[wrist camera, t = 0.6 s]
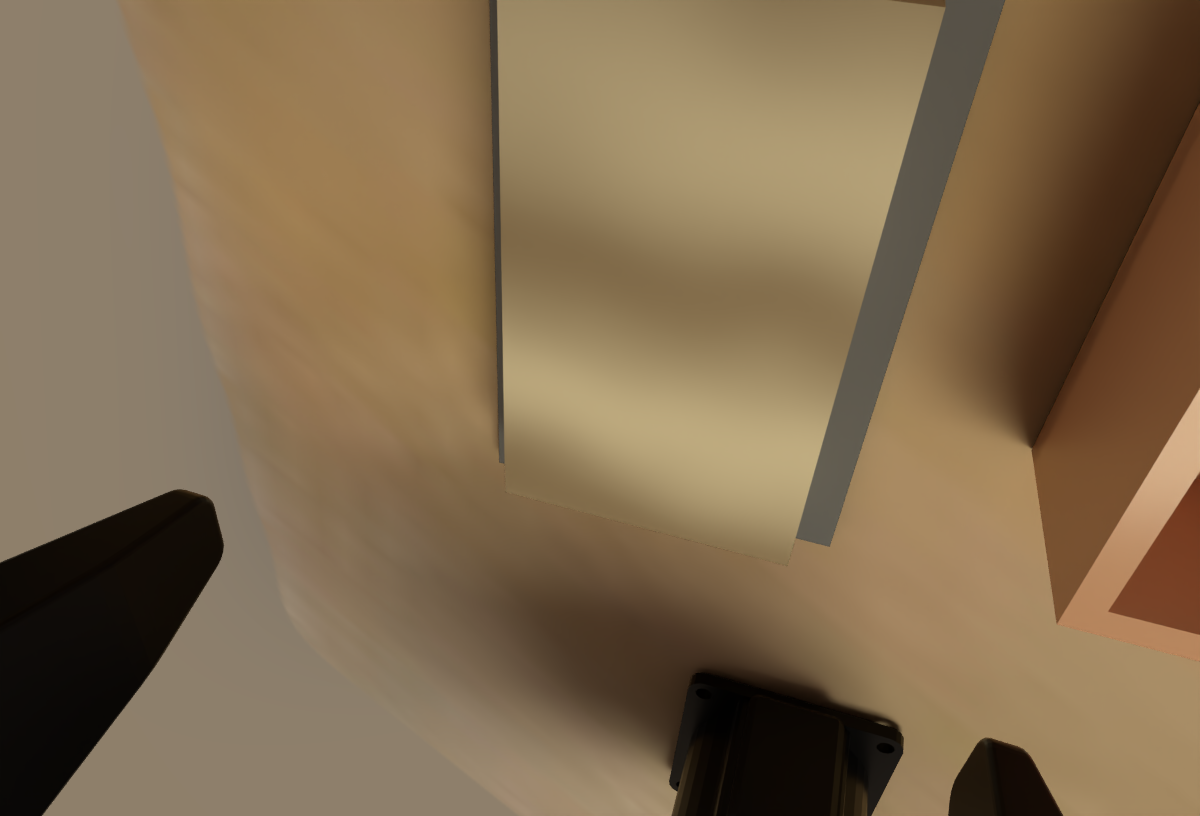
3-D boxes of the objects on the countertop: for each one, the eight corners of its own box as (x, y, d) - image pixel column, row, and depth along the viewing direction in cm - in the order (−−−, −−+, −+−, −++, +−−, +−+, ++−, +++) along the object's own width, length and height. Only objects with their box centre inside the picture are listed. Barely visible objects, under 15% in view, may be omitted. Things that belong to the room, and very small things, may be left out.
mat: (831, 536, 22) (829, 546, 22) (505, 453, 24) (499, 462, 24) (1029, -86, 13) (1031, -84, 13) (495, -142, 15) (486, -140, 15)
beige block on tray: (797, 508, 21) (787, 566, 20) (533, 443, 23) (505, 492, 21) (944, -19, 14) (945, 7, 12) (539, -69, 15) (496, -50, 14)
